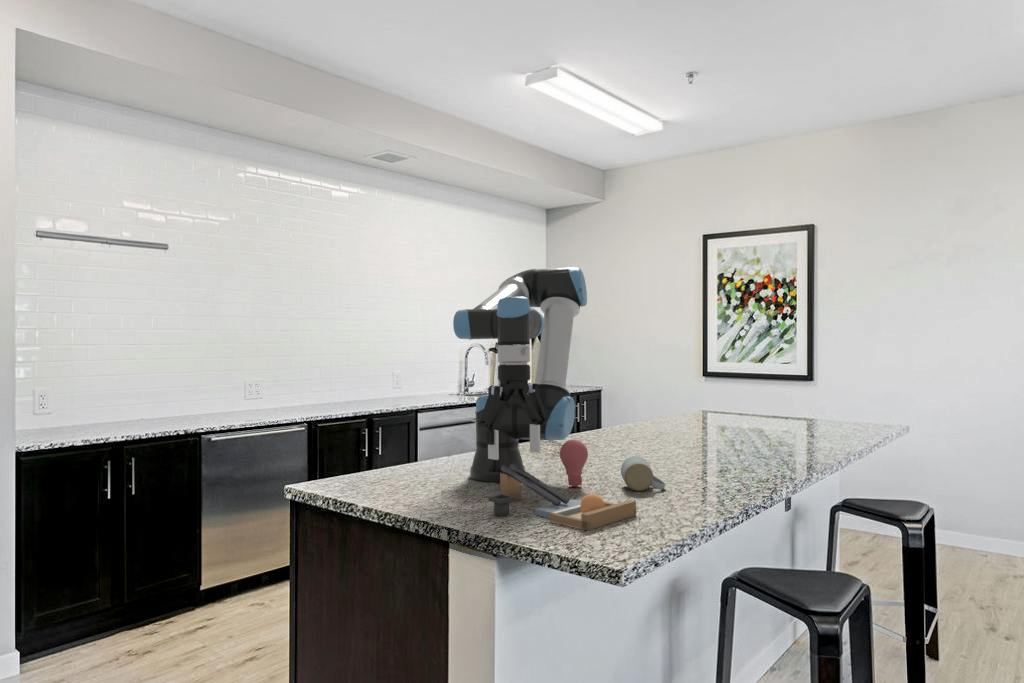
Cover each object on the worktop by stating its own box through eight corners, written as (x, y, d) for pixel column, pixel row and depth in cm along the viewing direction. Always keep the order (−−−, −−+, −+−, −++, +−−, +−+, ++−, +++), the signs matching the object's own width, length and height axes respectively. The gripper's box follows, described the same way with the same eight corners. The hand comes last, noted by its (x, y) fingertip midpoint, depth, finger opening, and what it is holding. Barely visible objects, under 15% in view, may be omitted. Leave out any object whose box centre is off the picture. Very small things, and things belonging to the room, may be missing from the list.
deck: (535, 514, 144) (534, 508, 144) (571, 504, 152) (571, 499, 152) (556, 519, 139) (556, 513, 139) (592, 509, 148) (592, 503, 148)
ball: (579, 495, 137) (589, 519, 135) (601, 487, 139) (611, 510, 137) (574, 501, 142) (584, 524, 140) (596, 493, 143) (605, 516, 141)
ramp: (500, 500, 157) (499, 465, 157) (513, 497, 160) (513, 462, 160) (556, 513, 144) (556, 474, 144) (570, 509, 147) (569, 472, 147)
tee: (488, 514, 144) (488, 497, 144) (502, 511, 146) (501, 494, 146) (501, 518, 141) (501, 500, 141) (515, 514, 144) (514, 496, 144)
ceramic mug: (624, 492, 164) (624, 460, 164) (620, 485, 173) (620, 455, 173) (668, 493, 164) (668, 461, 164) (662, 486, 172) (662, 456, 172)
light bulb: (555, 488, 170) (555, 440, 170) (566, 483, 176) (566, 437, 176) (582, 491, 166) (581, 442, 166) (592, 485, 172) (591, 438, 173)
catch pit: (549, 521, 138) (549, 506, 138) (598, 507, 149) (598, 494, 149) (587, 530, 131) (587, 515, 131) (636, 515, 142) (636, 501, 142)
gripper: (484, 365, 145) (485, 464, 145) (561, 362, 163) (562, 450, 162) (462, 365, 150) (463, 460, 150) (539, 362, 168) (539, 447, 168)
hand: (514, 455), depth 156 cm, fingers open, 13 cm apart
